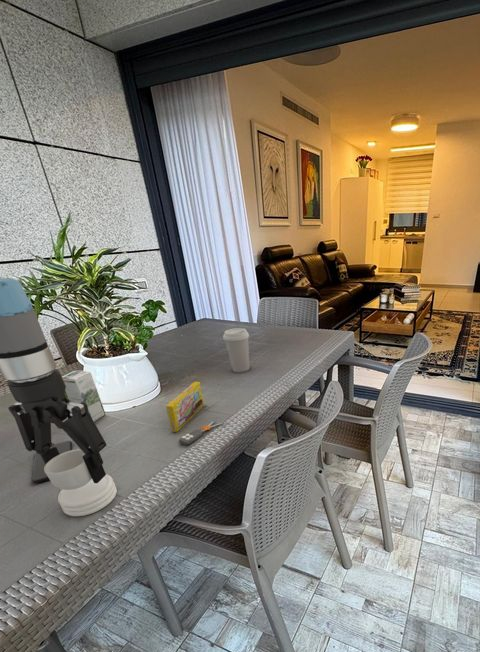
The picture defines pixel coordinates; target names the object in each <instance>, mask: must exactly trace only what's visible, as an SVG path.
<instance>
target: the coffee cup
mask: <svg viewBox="0 0 480 652" xmlns="http://www.w3.org/2000/svg"><path fill="white" fill-rule="evenodd" d="M249 337H250V333H249V332H248V331H247V329H246V328H244V327H243V328H242V327H234V328H230V329H227V330H225V331H224V333H223V336H222V339H223V340H224V343H225V346H226V349H227V350H226V351H227V354H228V357H229V362H230V365H231V369H232V372H235V373H244V372H247V371H249V370H250V368H251V367H250V351H249V349H250V348H249Z"/></svg>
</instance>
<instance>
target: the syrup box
mask: <svg viewBox="0 0 480 652" xmlns="http://www.w3.org/2000/svg"><path fill="white" fill-rule="evenodd" d="M61 376H62V378H63V381H64V383H65V385H66V389H65V395H66V397H67V398H68V399H69V400H70V401H71V403H76V404H79V403H81V402H85V403H86V404H87V407H88V412H89V414H90V416H91V418H92V419H93V421H94V423H95V422H97V421H99V420H100V419H102V418H103V417H105V416H106V411H105V408H104V406H103V403H102V400H101V398H100V394H99V392H98V391H99V390H98V389H97V386H96V383H95V380H94V377H93V375H92V373H91V371H87V370H73V371H71V372H69V373H67V374H65V375H61Z"/></svg>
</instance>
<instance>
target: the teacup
mask: <svg viewBox="0 0 480 652" xmlns="http://www.w3.org/2000/svg"><path fill="white" fill-rule="evenodd" d="M84 455H85V453H84V452H83V451H82V450H81V449H80V448H77V449H76V448H75V449H72V450H71V451H67V452H64V453H62V454H60V455H58V456H56V457H54V458H53V459H51V460H50V461H49V462H48V463H47V464H46V465H45V467H44V471H45V473H46V474H47V476H48V478H49V481H50V483H52V484H53V486H54V487H56V488H57V489H60V490H62V489H63V490H73V489H78V488H80V487H82V486H84V485H86V484H87V483H88V482H89V481H90V480H91V479H92V477H91V475H90V473H89V471H88V469H87V466H86V464H85V462H84V460H83V457H82V456H84Z"/></svg>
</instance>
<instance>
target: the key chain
mask: <svg viewBox="0 0 480 652" xmlns="http://www.w3.org/2000/svg"><path fill="white" fill-rule="evenodd" d="M214 423H215V422H214V421H211V422H210V423H208V424H207V425H203V426H202V427H200V429H195V430H192V431H191V432H188V433H186V434H185V435H182V436H181V437H180V438H178V441H179V443H180V444H182V445H185V446H187V445H190V444H191V443H193V442H194V441H196V440H197V439H199V438H200V437H201V436H202V435H203V434H204V432H205V431H209V430H210V431H211V428H214V427H217V426H220V425H222V424H224V422H220V423H216V424H214Z"/></svg>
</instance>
